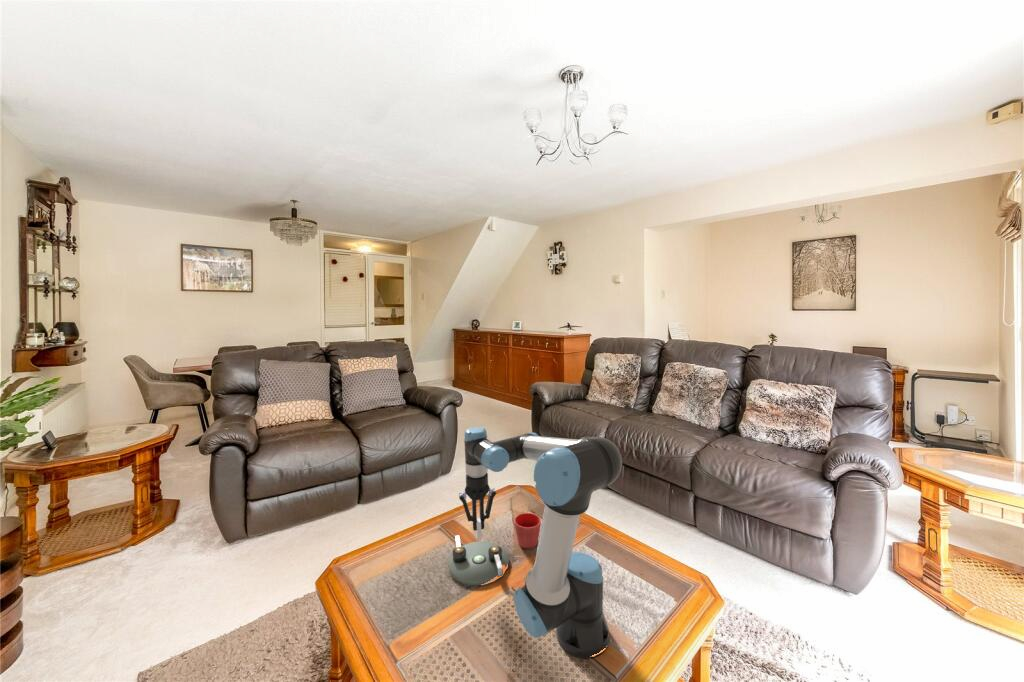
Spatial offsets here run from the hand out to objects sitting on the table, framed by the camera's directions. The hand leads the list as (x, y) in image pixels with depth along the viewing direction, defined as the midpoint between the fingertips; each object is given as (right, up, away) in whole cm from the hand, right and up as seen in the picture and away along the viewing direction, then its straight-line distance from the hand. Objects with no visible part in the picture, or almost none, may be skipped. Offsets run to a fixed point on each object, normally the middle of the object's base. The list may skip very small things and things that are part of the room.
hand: (478, 537), depth 135 cm
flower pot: (+18, -13, +21) cm, 31 cm away
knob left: (-9, -12, +13) cm, 20 cm away
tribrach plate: (-1, -15, +9) cm, 17 cm away
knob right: (+6, -12, +6) cm, 15 cm away
